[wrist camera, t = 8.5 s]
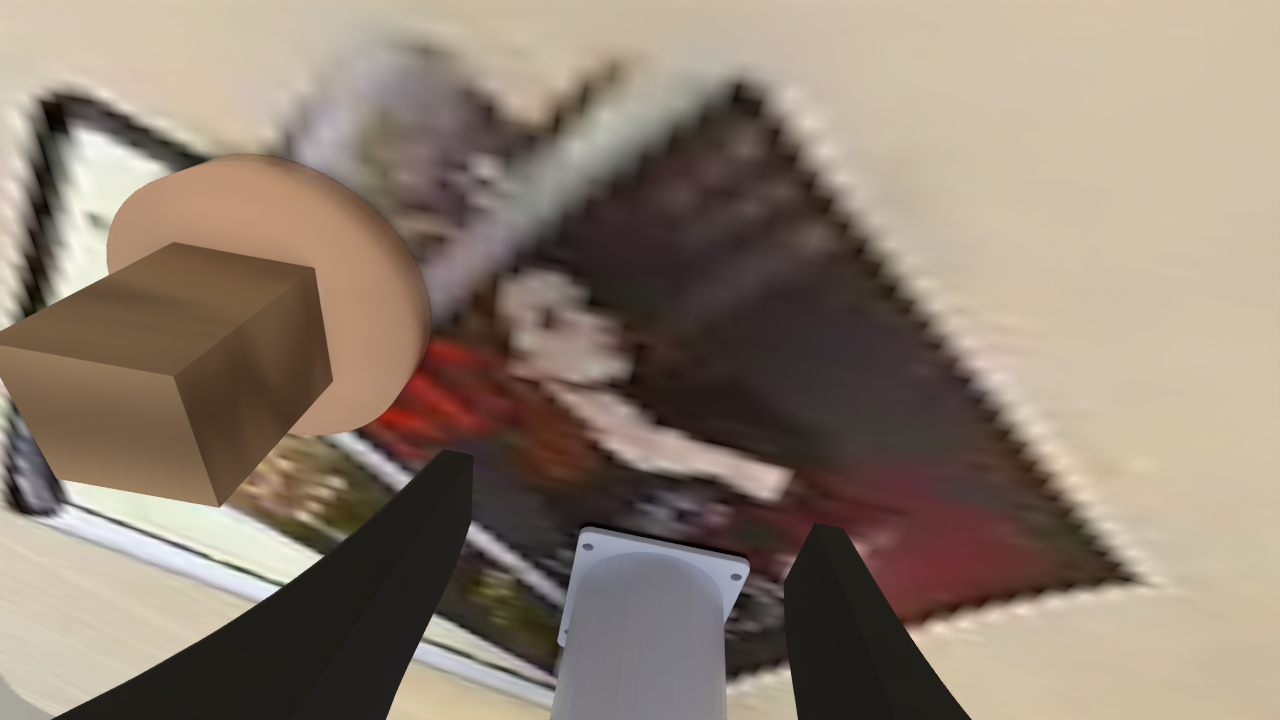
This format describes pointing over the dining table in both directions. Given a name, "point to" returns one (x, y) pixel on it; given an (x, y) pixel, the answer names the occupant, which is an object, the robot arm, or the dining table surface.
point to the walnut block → (170, 371)
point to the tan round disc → (308, 236)
